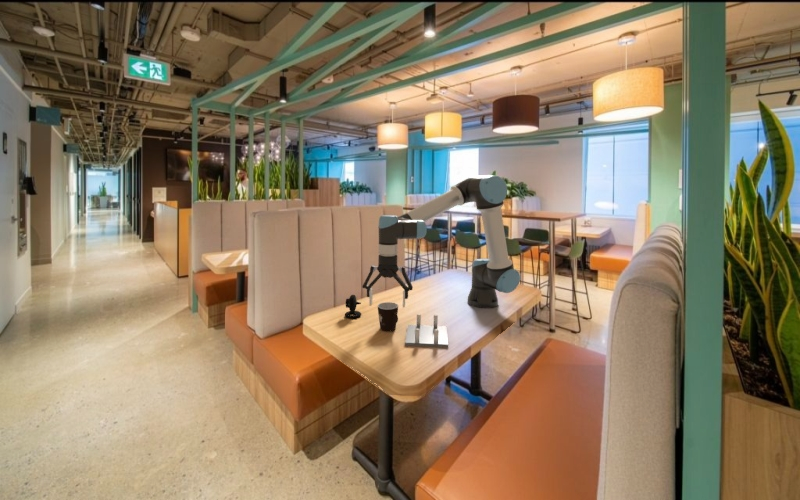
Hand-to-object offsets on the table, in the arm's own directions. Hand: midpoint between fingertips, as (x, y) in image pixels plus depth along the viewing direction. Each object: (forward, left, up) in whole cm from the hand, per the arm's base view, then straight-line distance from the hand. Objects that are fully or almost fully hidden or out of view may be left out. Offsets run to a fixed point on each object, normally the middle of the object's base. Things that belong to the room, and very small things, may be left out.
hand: (387, 305), depth 139 cm
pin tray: (-16, +5, -11) cm, 20 cm away
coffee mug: (0, 0, -11) cm, 11 cm away
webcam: (+18, -14, -11) cm, 25 cm away
